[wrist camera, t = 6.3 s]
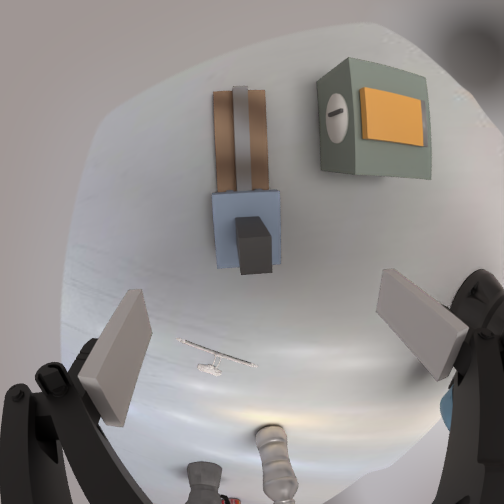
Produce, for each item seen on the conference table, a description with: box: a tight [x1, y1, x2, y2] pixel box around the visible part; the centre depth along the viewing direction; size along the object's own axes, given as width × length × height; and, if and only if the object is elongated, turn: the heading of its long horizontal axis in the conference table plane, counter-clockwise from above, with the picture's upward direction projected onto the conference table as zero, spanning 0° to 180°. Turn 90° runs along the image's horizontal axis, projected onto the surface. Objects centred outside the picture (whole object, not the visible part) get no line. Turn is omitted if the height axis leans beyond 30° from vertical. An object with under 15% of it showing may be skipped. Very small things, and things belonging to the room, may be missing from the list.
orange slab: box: [360, 87, 428, 147], centre depth 22 cm, size 5×8×1 cm, turn 92°
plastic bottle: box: [255, 426, 299, 504], centre depth 39 cm, size 6×7×20 cm
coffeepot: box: [185, 462, 230, 504], centre depth 45 cm, size 15×9×18 cm, turn 49°
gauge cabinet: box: [317, 57, 432, 180], centre depth 27 cm, size 12×11×10 cm
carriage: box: [212, 189, 281, 275], centre depth 27 cm, size 8×7×12 cm
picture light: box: [176, 338, 258, 376], centre depth 40 cm, size 14×4×2 cm, turn 63°
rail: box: [213, 86, 269, 193], centre depth 31 cm, size 20×6×4 cm, turn 2°
